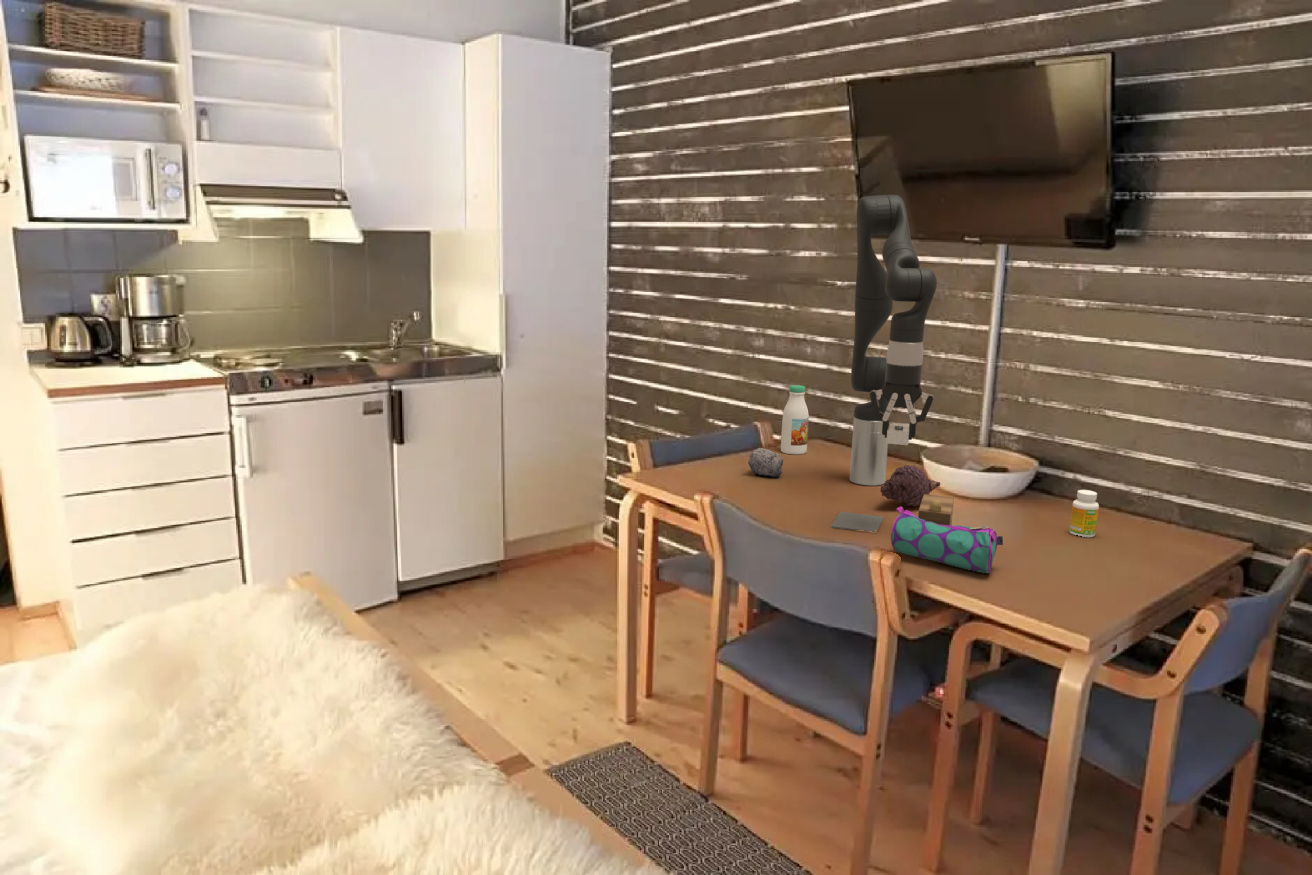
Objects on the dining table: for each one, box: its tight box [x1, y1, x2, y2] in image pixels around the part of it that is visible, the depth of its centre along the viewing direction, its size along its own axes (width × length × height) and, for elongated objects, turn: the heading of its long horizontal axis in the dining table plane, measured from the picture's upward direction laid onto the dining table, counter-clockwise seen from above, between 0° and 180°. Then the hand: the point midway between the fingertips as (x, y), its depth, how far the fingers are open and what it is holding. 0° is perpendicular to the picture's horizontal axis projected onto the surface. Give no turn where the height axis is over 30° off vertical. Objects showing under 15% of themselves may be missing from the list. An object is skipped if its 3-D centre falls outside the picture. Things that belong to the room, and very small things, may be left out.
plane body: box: [917, 493, 955, 526], centre depth 208 cm, size 14×7×10 cm, turn 160°
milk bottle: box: [780, 384, 810, 455], centre depth 282 cm, size 8×8×20 cm
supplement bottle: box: [1068, 489, 1100, 538], centre depth 212 cm, size 5×5×10 cm
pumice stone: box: [747, 447, 784, 478], centre depth 256 cm, size 10×8×10 cm
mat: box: [830, 511, 884, 533], centre depth 217 cm, size 12×10×1 cm
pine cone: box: [879, 464, 941, 507], centre depth 231 cm, size 18×10×10 cm, turn 118°
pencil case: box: [890, 506, 1004, 574], centre depth 192 cm, size 21×9×10 cm, turn 56°
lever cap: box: [886, 421, 910, 446], centre depth 210 cm, size 8×4×3 cm, turn 162°
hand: (898, 437), depth 210 cm, fingers closed on lever cap, 4 cm apart
